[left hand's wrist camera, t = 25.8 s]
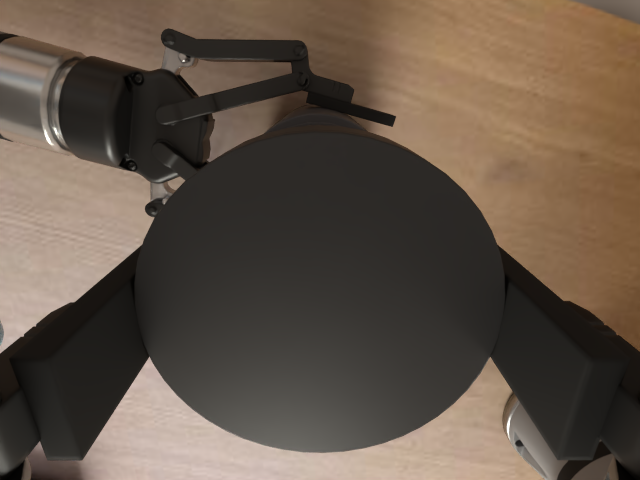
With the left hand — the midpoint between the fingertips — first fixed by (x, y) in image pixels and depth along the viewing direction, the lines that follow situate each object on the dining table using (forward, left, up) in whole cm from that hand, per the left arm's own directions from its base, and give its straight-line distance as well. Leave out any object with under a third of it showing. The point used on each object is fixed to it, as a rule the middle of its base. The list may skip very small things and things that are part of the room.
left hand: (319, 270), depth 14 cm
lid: (0, 0, +3) cm, 3 cm away
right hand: (-4, -1, -17) cm, 18 cm away
